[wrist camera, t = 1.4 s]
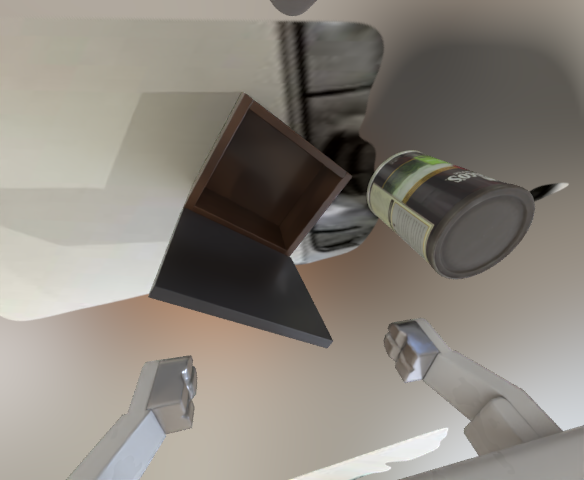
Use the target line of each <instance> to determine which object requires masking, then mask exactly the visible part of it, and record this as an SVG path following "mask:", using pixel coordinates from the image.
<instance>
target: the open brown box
mask: <svg viewBox="0 0 584 480" xmlns="http://www.w3.org/2000/svg"><path fill="white" fill-rule="evenodd" d="M351 178H352V175H350V174H349V173H348V172H346V171H345V170H344V169H343V168H341V167H340V166H339V165H337V164H336V163H335V162H334V161H332V160H331V159H330V158H328V157H327V156H326V155H324V154H323V153H322V152H321V151H319V150H318V149H317V148H315V147H314V146H313V145H312V144H310V143H309V142H308V141H306V140H305V139H304V138H302V137H301V136H300V135H299V134H297V133H296V132H295V131H293V130H292V129H291V128H290V127H288V126H287V125H286V124H284V123H283V122H282V121H281V120H279V119H278V118H277V117H275V116H274V115H273V114H271V113H270V112H269V111H268V110H266V109H265V108H264V107H262V106H261V105H260V104H259V103H257V102H256V101H255V100H253V99H252V98H251V97H249V96H248V95H247V94H246V93H244V92H242V93H241V95H240V97H239V98H238V100H237V102H236V104H235V106H234V108H233V110H232V112H231V114H230V115H229V117H228V119H227V121H226V123H225V125H224V127H223V129H222V130H221V132H220V134H219V136H218V138H217V140H216V142H215V144H214V145H213V147H212V149H211V151H210V153H209V155H208V157H207V159H206V160H205V162H204V164H203V166H202V168H201V170H200V172H199V174H198V175H197V177H196V179H195V181H194V183H193V185H192V187H191V190H190V192H189V195H188V197H187V200H186V202H185V204H184V207H185V208H187V209H189V210H191V211H193V212H195V213H197V214H199V215H202V216H204V217H206V218H208V219H210V220H212V221H214V222H216V223H219V224H221V225H223V226H225V227H227V228H229V229H231V230H233V231H235V232H238V233H240V234H242V235H244V236H246V237H248V238H250V239H252V240H254V241H257V242H259V243H261V244H263V245H265V246H267V247H269V248H271V249H273V250H276V251H278V252H280V253H282V254H284V255H286V256H288V257H289V256H290V255H291V254H292V253H293V251H294V250H295V249H296V248H297V246H298V245H299V244H300V243H301V241H302V240H303V239H304V237H305V236H306V235H307V234H308V232H309V231H310V230H311V229H312V227H313V226H314V225H315V223H316V222H317V221H318V220H319V218H320V217H321V216H322V215H323V213H324V212H325V211H326V210H327V208H328V207H329V206H330V204H331V203H332V202H333V201H334V199H335V198H336V197H337V196H338V194H339V193H340V192H341V190H342V189H343V188H344V187H345V185H346V184H347V183H348V182H349V180H350V179H351ZM184 207H183V208H184Z"/></svg>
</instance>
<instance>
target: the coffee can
mask: <svg viewBox="0 0 584 480" xmlns="http://www.w3.org/2000/svg"><path fill="white" fill-rule="evenodd" d="M367 202H368V206H369V208H370V210H371V211H372V212H373V213H374V214H375V215H376V216H378V217H379V218H380V219H381V220H382V221H383V222H384V223H385V224H387V225H388V226H389V227H390V228H391V229H392V230H393V231H394V232H395V233H396V234H398V235H399V236H400V237H401V238H402V239H403V240H404V241H405V242H406V243H407V244H408V245H410V246H411V247H412V248H413V249H414V250H415V251H416V252H417V253H418V254H419V255H421V257H423V258H424V259H425V260H426V261H427V262H428V263H429V264H430V265H431V266H432V268H433V269H434V270H435V271H436V272H437V273H438V274H439V275H441V276H443V277H445V278H449V279H463V278H468V277H471V276H474V275H477V274H479V273H482V272H484V271H485V270H487V269H489V268H491V267H493V266H494V265H496V264H497V263H498V262H500V261H501V260H503V259H504V258H505V257H506V256H507V255H508V254H509V253H510V252H511V251H512V250H513V249H514V248H515V247H516V246H517V245H518V244H519V242H520V241H521V240H522V239H523V237H524V236H525V234H526V233H527V231H528V229H529V227H530V225H531V223H532V220H533V216H534V210H535V207H534V199H533V197H532V195H531V193H530V192H529V191H528V190H526V189H524V188H522V187H520V186H517V185H513V184H507V183H503V182H500V181H498V180H495V179H492V178H489V177H486V176H484V175H481V174H478V173H475V172H473V171H470V170H467V169H465V168H462V167H458V166H456V165H453V164H450V163H448V162H445V161H442V160H439V159H436V158H433V157H431V156H428V155H425V154H423V153H421V152H419V151H415V150H407V151H403V152H399V153H397V154H394V155H393V156H391V157H389V158H388V159H387V160H385V161H384V162H383V163H382V164H381V165H380V166H379V167H378V168H377V170H376V171H375V172H374V174H373V176H372V177H371V179H370V182H369V184H368V189H367Z"/></svg>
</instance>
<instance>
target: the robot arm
mask: <svg viewBox="0 0 584 480" xmlns="http://www.w3.org/2000/svg"><path fill="white" fill-rule="evenodd" d="M388 330H389V332H388V333H387V334H386V335H385V338H384V346H385V349H386V352H387V354H388V355H389V357H390V358H391V359H393V360H394V361H395V362H396V363H395V368H396V369H397V371H398V373H399V375H400V376H401V378H402V380H403V381H404V383H406V382H411V381H417V380H423V381H424V382H425V383H426V384H427V385H428V386H430V387H431V388H432V389H433V390H435V391H436V392H437V393H438V394H439V395H441V396H442V397H443V398H444V399H445V400H446V401H448V402H449V403H450V404H451V405H452V406H454V407H455V408H456V409H457V410H458V411H460V412H461V413H462V414H463V415H464V416H466V417H467V418H468V419H469V420H470V421H471V422H470V423H469V424H468V425H467V426H466V427H465V428H464V434H465V435H466V437H467V439H468V440H469V441H470V443H471V444H472V446H473V448H474V449H475V451H476V452H477V454H478V455H479V456H478V457H474V458H471V459H467V460H464V461H460V462H457V463H454V464H451V465H447V466H443V467H440V468H437V469H433V470H430V471H426V472H423V473H420V474H416V475H413V476H409V477H406V478H403V479H399V480H584V425H583V426H580V427H576V428H573V429H569V430H566V431H562V430H561V429H560V428H559V427H558V426H557V425H556V423H554V421H553V420H552V419H551V418H550V417H549V416H548V415H547V414H546V413H545V412H544V411H543V410H542V409H541V408H540V407H539V406H538V405H537V404H536V402H534V400H533V399H532V398H531V397H530V396H529V395H528V394H527V393H526V392H525V391H524V390H522V389H521V388H519V387H517V386H516V385H514V384H512V383H511V382H509V381H507V380H505V379H504V378H502V377H500V376H499V375H497V374H495V373H494V372H492V371H490V370H488V369H487V368H485V367H483V366H482V365H480V364H478V363H476V362H474V361H473V360H471V359H469V358H468V357H466V356H464V355H463V354H461V353H459V352H458V351H456V350H455V351H452V350H451V348H450V347H449V346H448V345H447V344H446V343H445V341H444V340H443V339H442V338H441V336H440V335H439V334H438V333H437V332H436V331H435V329H434V328H433V327H432V326H431V324H430V323H429V322H428V321H427V320H426V319H424V318H418V319H412V320H411V319H410V320H405V321H399V322H394V323H391V324H389V326H388ZM192 363H193V359H192V356H183V357H177V358H170V359H163V360H156V361H150V362H146V363H145V364H144V366H143V367H142V370H141V373H140V376H139V379H138V382H137V385H136V389H135V392H134V395H133V398H132V401H131V404H130V407H129V410H128V413H127V414H124V415H122V416H121V417H120V418H119V419H118V420H117V422H116V423H115V424H114V425H113V426H112V427H111V428H110V430H109V431H108V432H107V433H106V434H105V435H104V437H103V438H102V439H101V440H100V441H99V442H98V443H97V444H96V446H95V447H94V448H93V449H92V450H91V451H90V453H89V454H88V455H87V456H86V457H85V458H84V459H83V461H82V462H81V463H80V464H79V465H78V466H77V468H76V469H75V470H74V471H73V472H72V473H71V474H70V476H69V477H68V478H67V479H66V480H140V478H141V476H142V475H143V473H144V472H145V470H146V468H147V466H148V465H149V463H150V462H151V460H152V458H153V457H154V455H155V453H156V452H157V450H158V449H159V447H160V445H161V444H162V442H163V440H164V439H165V437H166V435H165V434H169V433H173V432H178V431H182V430H186V429H190V428H192V423H193V415H194V404H193V401H192V399H193V397H194V396H195V395H196V389H197V372H196V368H195V367H194V366H192Z"/></svg>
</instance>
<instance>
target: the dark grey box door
mask: <svg viewBox="0 0 584 480" xmlns="http://www.w3.org/2000/svg"><path fill="white" fill-rule="evenodd" d="M148 297H150V298H153V299H156V300H160V301H163V302H167V303H170V304H174V305H177V306H181V307H184V308H188V309H191V310H195V311H199V312H202V313H205V314H209V315H212V316H216V317H219V318H223V319H227V320H230V321H233V322H237V323H240V324H244V325H247V326H251V327H254V328H258V329H261V330H265V331H268V332H272V333H275V334H279V335H282V336H286V337H289V338H293V339H296V340H300V341H303V342H307V343H310V344H314V345H317V346H321V347H324V348H328V347H329V346H330V344H331V343H332V342H333V340H332V338H331V336H330V334H329V332H328V330H327V328H326V326H325V324H324V322H323V320H322V318H321V316H320V314H319V312H318V310H317V308H316V306H315V305H314V302H313V300H312V298H311V296H310V294H309V292H308V290H307V289H306V286H305V284H304V282H303V281H302V279H301V277H300V275H299V273H298V271H297V269H296V267H295V265H294V263H293V261H292V259H291V258H290V257H288V256H286V255H284V254H282V253H280V252H278V251H276V250H273V249H271V248H269V247H267V246H265V245H263V244H261V243H259V242H257V241H254V240H252V239H250V238H248V237H246V236H244V235H242V234H240V233H238V232H235V231H233V230H231V229H229V228H227V227H225V226H223V225H221V224H219V223H216V222H214V221H212V220H210V219H208V218H206V217H204V216H202V215H199V214H197V213H195V212H193V211H191V210H189V209H187V208H185V207H184V208H183V209H182V211H181V213H180V216H179V218H178V221H177V223H176V226H175V229H174V231H173V234H172V236H171V239H170V242H169V244H168V247H167V249H166V252H165V254H164V257H163V260H162V262H161V265H160V267H159V270H158V273H157V275H156V278H155V280H154V283H153V286H152V288H151V291H150V293H149V296H148Z"/></svg>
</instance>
